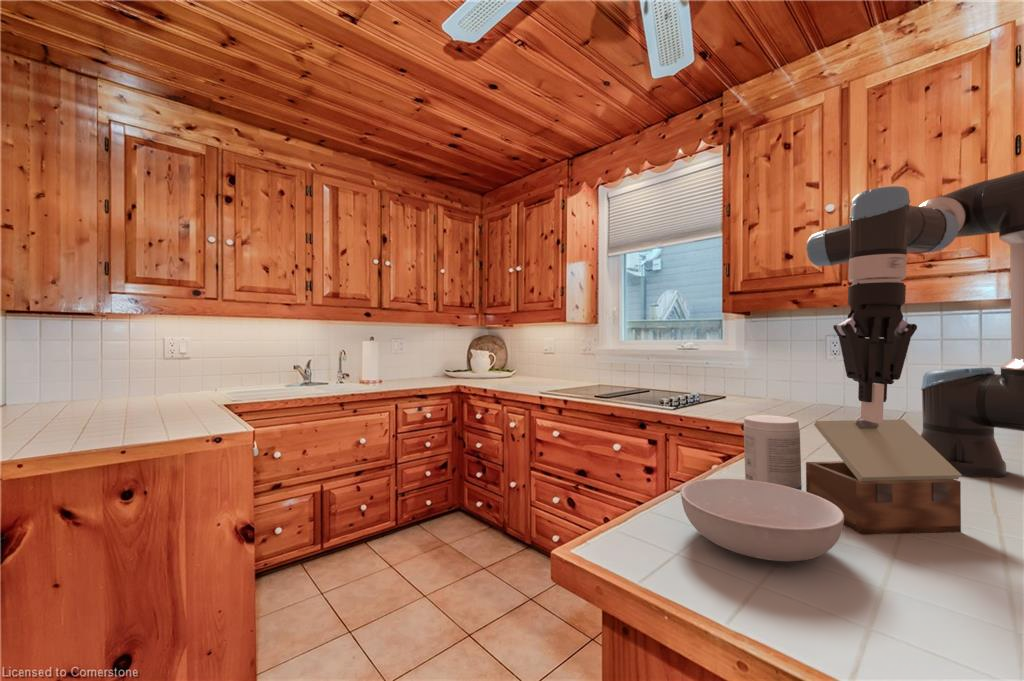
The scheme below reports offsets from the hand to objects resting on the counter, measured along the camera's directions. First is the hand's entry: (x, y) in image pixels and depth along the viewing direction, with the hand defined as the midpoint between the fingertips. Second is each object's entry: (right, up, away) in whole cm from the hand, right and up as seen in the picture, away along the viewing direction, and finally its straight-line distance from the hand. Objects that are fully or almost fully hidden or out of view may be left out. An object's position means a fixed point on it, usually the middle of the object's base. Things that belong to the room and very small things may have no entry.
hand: (871, 420), depth 75 cm
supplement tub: (-10, -17, +11) cm, 23 cm away
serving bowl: (-25, -17, -10) cm, 32 cm away
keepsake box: (0, -16, -1) cm, 16 cm away
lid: (0, -5, -2) cm, 5 cm away
